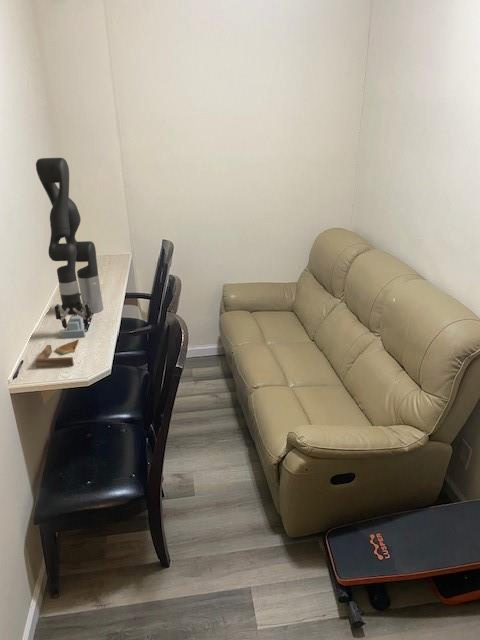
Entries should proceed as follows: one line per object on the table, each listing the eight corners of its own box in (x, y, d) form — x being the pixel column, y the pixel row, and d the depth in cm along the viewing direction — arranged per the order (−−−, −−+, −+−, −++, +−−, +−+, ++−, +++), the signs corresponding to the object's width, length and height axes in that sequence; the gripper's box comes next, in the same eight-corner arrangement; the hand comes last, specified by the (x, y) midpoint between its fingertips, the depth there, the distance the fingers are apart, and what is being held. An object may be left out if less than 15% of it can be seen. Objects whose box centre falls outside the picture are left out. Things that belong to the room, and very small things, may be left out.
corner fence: (48, 352, 185) (46, 345, 183) (81, 350, 185) (80, 343, 184) (37, 367, 173) (35, 360, 171) (72, 366, 173) (71, 358, 172)
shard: (79, 342, 193) (78, 338, 193) (89, 347, 189) (89, 343, 188) (55, 351, 186) (54, 347, 185) (65, 357, 181) (64, 353, 180)
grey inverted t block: (69, 329, 205) (66, 316, 203) (90, 328, 205) (87, 315, 203) (62, 338, 196) (60, 325, 194) (84, 337, 197) (82, 324, 194)
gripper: (89, 287, 198) (94, 323, 204) (54, 289, 197) (61, 324, 203) (84, 293, 191) (90, 330, 197) (49, 294, 190) (56, 331, 196)
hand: (75, 327), depth 200 cm, fingers open, 8 cm apart
